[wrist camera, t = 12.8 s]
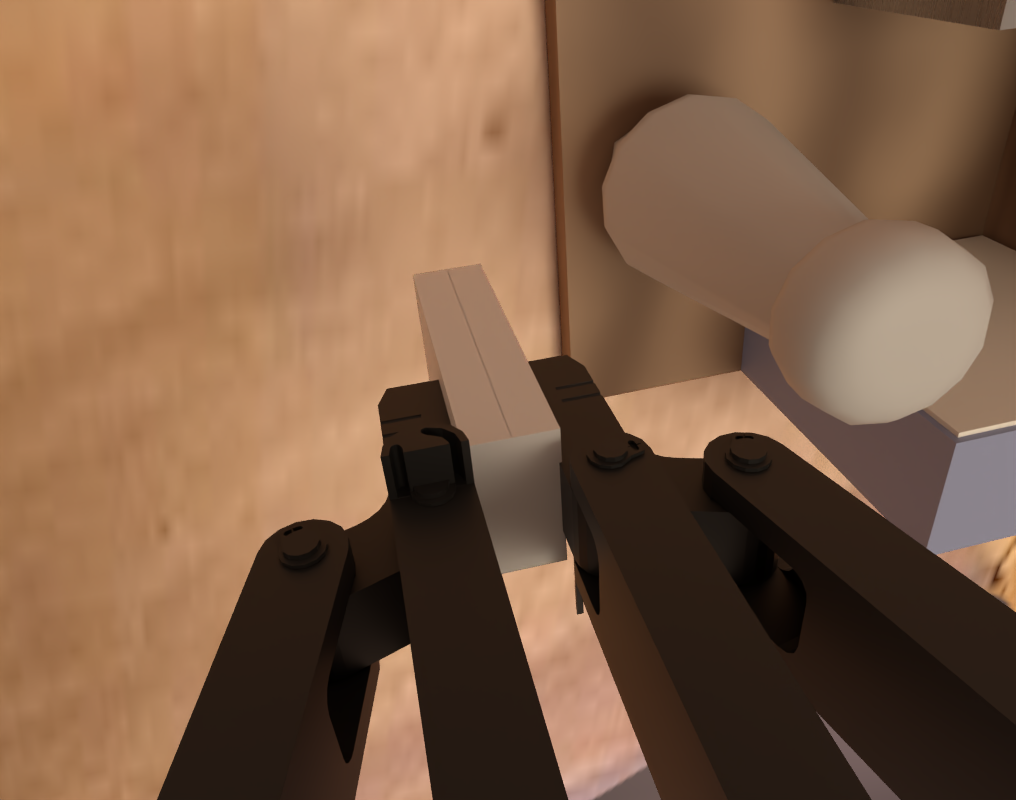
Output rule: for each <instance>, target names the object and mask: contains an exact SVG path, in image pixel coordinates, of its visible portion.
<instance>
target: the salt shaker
mask: <svg viewBox="0 0 1016 800" xmlns="http://www.w3.org/2000/svg"><path fill="white" fill-rule="evenodd" d="M602 196H603V213H604V226H605V228H606V230H607V232H608V234H609V235H610V237H611V239H612V240H613V242H614V244H615V245H616V247H617V248H618V250H619V252H620V253H621V255H622V257H623V258H624V260H625V262H626V263H627V264H628V265H630V266H632V267H633V268H635V269H637V270H639V271H641V272H642V273H644V274H646V275H648V276H650V277H652V278H653V279H655V280H657V281H659V282H661V283H663V284H665V285H666V286H668V287H670V288H672V289H674V290H676V291H678V292H680V293H682V294H684V295H685V296H687V297H689V298H691V299H693V300H695V301H697V302H699V303H701V304H703V305H704V306H706V307H708V308H710V309H712V310H714V311H716V312H718V313H720V314H722V315H723V316H725V317H727V318H729V319H731V320H733V321H735V322H737V323H739V324H741V325H742V326H744V327H746V328H748V329H750V330H752V331H754V332H756V333H758V334H760V335H761V336H763V337H765V338H767V339H769V347H770V350H771V353H772V355H773V357H774V359H775V361H776V363H777V365H778V366H779V368H780V370H781V372H782V374H783V376H784V378H785V380H786V382H787V383H788V384H789V385H790V386H791V387H792V389H793V390H794V391H795V392H796V393H797V394H798V395H799V396H800V397H801V398H802V399H804V400H805V401H807V402H809V403H810V404H812V405H814V406H815V407H817V408H819V409H821V410H822V411H824V412H826V413H828V414H830V415H832V416H834V417H835V418H837V419H839V420H841V421H843V422H845V423H847V424H849V425H863V424H879V423H888V422H892V421H895V420H898V419H901V418H903V417H905V416H908V415H910V414H912V413H915V412H917V411H919V410H922V409H924V408H926V407H929V406H931V405H933V404H934V403H935V402H936V401H937V400H938V399H940V398H941V397H942V396H943V395H944V394H945V393H947V392H948V391H949V390H950V389H951V388H952V387H953V386H955V385H956V384H957V383H958V382H959V381H960V380H962V378H963V377H964V375H965V374H966V372H967V371H968V369H969V368H970V366H971V365H972V363H973V362H974V360H975V359H976V357H977V356H978V354H979V353H980V351H981V350H982V348H983V346H984V341H985V337H986V332H987V328H988V324H989V319H990V315H991V310H992V306H993V301H994V299H993V295H992V291H991V287H990V283H989V279H988V275H987V271H986V267H985V265H984V264H983V263H981V262H980V261H979V260H978V259H977V258H975V257H974V256H973V255H972V254H971V253H970V252H968V251H967V250H966V249H965V248H963V247H962V246H960V245H959V244H958V243H956V242H955V241H953V240H952V239H950V238H949V237H948V236H946V235H945V234H943V233H942V232H941V231H939V230H938V229H935V228H932V227H930V226H927V225H924V224H922V223H919V222H917V221H903V220H877V219H871V220H869V219H868V218H867V217H866V216H865V215H864V214H863V213H862V212H861V211H860V210H859V209H858V208H857V207H856V206H855V205H854V204H853V203H852V202H851V201H850V200H849V199H847V198H846V197H845V196H844V195H843V194H842V193H841V192H840V191H839V190H838V189H837V188H836V187H835V186H834V185H833V184H832V183H831V182H830V181H829V180H828V179H827V178H826V177H825V176H824V175H823V174H822V173H821V172H820V171H819V170H818V169H817V168H816V167H815V166H814V165H813V164H812V163H811V162H810V161H809V160H808V159H807V158H806V157H805V156H804V155H803V154H802V153H801V152H800V151H799V150H798V149H797V148H796V147H795V146H794V145H793V144H792V143H791V142H790V141H789V140H788V139H787V138H786V137H785V136H784V135H783V134H782V133H781V132H780V131H779V130H778V129H777V128H776V127H775V126H774V125H773V124H771V123H770V122H769V121H768V120H767V119H766V118H764V117H763V116H761V115H760V114H759V113H757V112H756V111H754V110H753V109H751V108H750V107H748V106H747V105H745V104H744V103H742V102H741V101H739V100H738V99H737V98H728V97H716V96H705V95H692V94H687V95H685V96H683V97H681V98H679V99H676V100H674V101H672V102H670V103H668V104H665V105H663V106H661V107H659V108H657V109H654V110H652V111H650V112H648V113H647V114H646V115H645V116H644V117H643V118H642V119H641V120H640V121H639V123H638V124H637V125H636V126H635V127H634V128H633V129H632V130H631V131H630V132H628V133H627V134H626V135H624V136H623V137H621V138H620V139H619V140H617V141H616V142H614V149H613V155H612V161H611V164H610V166H609V169H608V172H607V174H606V177H605V180H604V182H603V185H602Z"/></svg>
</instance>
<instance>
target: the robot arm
mask: <svg viewBox="0 0 1016 800" xmlns="http://www.w3.org/2000/svg"><path fill="white" fill-rule="evenodd" d="M413 279H414V285H415V292H416V298H417V304H418V311H419V317H420V323H421V330H422V336H423V342H424V349H425V355H426V362H427V368H428V374H429V381H428V382H423V383H417V384H411V385H406V386H400V387H395V388H389V389H387V390H386V391H385V393H384V395H383V397H382V399H381V401H380V403H379V404H378V409H379V416H380V422H381V430H382V436H383V444H384V445H383V447H382V452H381V461H382V466H383V471H384V476H385V480H386V485H387V490H388V497H387V500H386V502H385V503H384V505H383V506H382V507H381V508H380V510H379V511H378V512H376V513H375V514H374V515H373V516H371V517H370V518H369V519H367V520H365V521H363V522H362V523H360V524H358V525H356V526H354V527H351V528H349V529H347V530H345V531H344V529H343V528H342V527H341V526H339V525H337V524H335V523H333V522H331V521H326V520H316V519H312V520H306V521H301V522H296V523H293V524H291V525H289V526H286V527H284V528H282V529H280V530H278V531H277V532H276V533H274V534H273V535H272V536H271V537H269V538H268V539H267V540H266V541H265V542H264V544H263V545H262V547H261V548H260V550H259V551H258V553H257V555H256V558H255V560H254V563H253V565H252V568H251V570H250V572H249V575H248V577H247V580H246V582H245V585H244V587H243V590H242V592H241V595H240V597H239V600H238V602H237V604H236V607H235V609H234V612H233V614H232V617H231V619H230V622H229V624H228V627H227V629H226V631H225V634H224V636H223V639H222V641H221V644H220V646H219V649H218V651H217V654H216V656H215V659H214V661H213V663H212V666H211V668H210V671H209V673H208V676H207V678H206V681H205V683H204V686H203V688H202V691H201V693H200V695H199V698H198V700H197V703H196V705H195V708H194V710H193V713H192V715H191V718H190V720H189V722H188V725H187V727H186V730H185V732H184V735H183V737H182V740H181V742H180V745H179V747H178V750H177V752H176V754H175V757H174V759H173V762H172V764H171V767H170V769H169V772H168V774H167V777H166V779H165V781H164V784H163V786H162V789H161V791H160V794H159V796H158V799H157V800H355V796H356V790H357V785H358V780H359V775H360V769H361V764H362V759H363V754H364V749H365V743H366V738H367V733H368V728H369V722H370V717H371V712H372V707H373V701H374V696H375V691H376V686H377V680H378V675H379V670H380V665H379V660H380V659H382V658H384V657H386V656H388V655H390V654H392V653H394V652H395V651H397V650H399V649H401V648H403V647H405V646H407V645H409V644H411V651H412V658H413V665H414V672H415V679H416V686H417V693H418V700H419V707H420V714H421V721H422V728H423V735H424V742H425V748H426V755H427V762H428V769H429V776H430V783H431V790H432V797H433V800H568V797H567V794H566V790H565V787H564V784H563V780H562V777H561V773H560V770H559V767H558V763H557V760H556V757H555V753H554V750H553V746H552V743H551V740H550V736H549V733H548V729H547V726H546V723H545V719H544V716H543V713H542V709H541V706H540V702H539V699H538V696H537V692H536V689H535V686H534V682H533V679H532V675H531V672H530V669H529V665H528V662H527V658H526V655H525V652H524V648H523V645H522V642H521V638H520V635H519V631H518V628H517V625H516V621H515V618H514V614H513V611H512V608H511V604H510V601H509V598H508V594H507V591H506V587H505V584H504V581H503V577H502V574H503V573H508V572H513V571H517V570H522V569H526V568H531V567H536V566H540V565H545V564H550V563H554V562H559V561H563V560H567V548H566V539H567V542H568V544H569V546H570V549H571V551H572V554H573V556H574V573H575V595H576V609H577V614H582V613H584V612H583V602H584V605H585V607H586V610H587V612H588V615H589V617H590V620H591V623H592V625H593V628H594V630H595V633H596V635H597V638H598V640H599V643H600V645H601V648H602V650H603V653H604V656H605V658H606V661H607V663H608V666H609V668H610V671H611V673H612V676H613V678H614V681H615V684H616V686H617V689H618V691H619V694H620V696H621V699H622V701H623V704H624V706H625V709H626V711H627V714H628V717H629V719H630V722H631V724H632V727H633V729H634V732H635V734H636V737H637V739H638V742H639V745H640V747H641V750H642V752H643V755H644V757H645V760H646V762H647V765H648V767H649V770H650V772H651V775H652V777H653V780H654V783H655V785H656V788H657V790H658V793H659V795H660V798H661V800H871V798H870V797H869V795H868V793H867V792H866V790H865V789H864V787H863V785H862V784H861V782H860V781H859V779H858V777H857V776H856V774H855V773H854V771H853V769H852V768H851V766H850V765H849V763H848V762H847V760H846V758H845V757H844V755H843V754H842V752H841V750H840V749H839V747H838V746H837V744H836V742H835V741H834V739H833V738H832V736H831V735H830V733H829V732H828V730H827V728H826V727H825V725H824V723H823V722H822V720H821V719H820V717H819V715H820V716H821V717H822V718H823V719H824V720H825V721H826V722H827V723H828V724H829V725H830V726H831V727H832V728H833V730H834V731H835V732H836V733H837V734H838V735H839V736H840V737H841V738H842V739H843V740H844V741H845V742H846V743H847V744H848V745H849V746H850V747H851V748H852V749H853V750H854V751H855V752H856V753H857V755H858V756H859V757H860V758H861V759H862V760H863V761H864V762H865V763H866V764H867V765H868V766H869V767H870V768H871V769H872V770H873V771H874V772H875V773H876V774H877V775H878V776H879V777H880V779H881V780H882V781H883V782H884V783H886V785H887V786H888V787H889V788H890V789H891V790H892V791H893V792H894V793H895V794H896V795H897V796H898V797H899V798H900V799H901V800H1016V612H1014V611H1013V610H1012V609H1010V608H1009V607H1008V606H1006V605H1005V604H1003V603H1002V602H1001V601H999V600H998V599H996V598H995V597H994V596H992V595H991V594H989V593H988V592H987V591H985V590H984V589H983V588H981V587H980V586H978V585H977V584H976V583H974V582H973V581H971V580H970V579H969V578H967V577H966V576H964V575H963V574H962V573H960V572H959V571H958V570H956V569H955V568H953V567H952V566H951V565H949V564H948V563H946V562H945V561H944V560H942V559H941V558H940V557H938V556H937V555H935V554H934V553H933V552H931V551H930V550H928V549H927V548H926V547H924V546H923V545H921V544H920V543H919V542H917V541H916V540H915V539H913V538H912V537H910V536H909V535H908V534H906V533H905V532H903V531H902V530H901V529H899V528H898V527H896V526H895V525H894V524H892V523H891V522H890V521H888V520H887V519H885V518H884V517H883V516H881V515H880V514H878V513H877V512H876V511H874V510H873V509H871V508H870V507H869V506H867V505H866V504H865V503H863V502H862V501H860V500H859V499H858V498H856V497H855V496H853V495H852V494H851V493H849V492H848V491H846V490H845V489H844V488H842V487H841V486H840V485H838V484H837V483H835V482H834V481H833V480H831V479H830V478H828V477H827V476H826V475H824V474H823V473H821V472H820V471H819V470H817V469H816V468H815V467H813V466H812V465H810V464H809V463H808V462H806V461H805V460H803V459H802V458H801V457H799V456H798V455H796V454H795V453H794V452H792V451H791V450H790V449H788V448H787V447H785V446H784V445H783V444H781V443H779V442H777V441H775V440H773V439H771V438H769V437H767V436H763V435H759V434H755V433H738V432H735V433H730V434H726V435H722V436H719V437H717V438H716V439H714V440H712V441H711V442H709V444H708V446H707V447H706V449H705V451H704V459H702V458H671V457H663V456H659V455H655V454H654V453H653V451H652V450H651V448H650V447H649V446H648V445H647V444H646V443H645V442H644V441H643V440H642V439H640V438H638V437H635V436H633V435H631V434H628V433H625V432H624V431H623V429H622V427H621V426H620V424H619V422H618V421H617V419H616V417H615V416H614V414H613V412H612V411H611V409H610V407H609V406H608V404H607V402H606V401H605V399H604V397H603V396H602V395H601V394H600V391H599V389H598V388H597V386H596V384H595V383H594V382H593V379H592V378H591V376H590V374H589V373H588V371H587V369H586V368H585V366H584V365H582V364H581V363H579V362H577V361H576V360H574V359H572V358H571V357H569V356H568V355H562V356H557V357H551V358H546V359H540V360H535V361H529V362H528V361H527V359H526V357H525V355H524V353H523V351H522V349H521V347H520V345H519V342H518V340H517V338H516V336H515V334H514V332H513V330H512V328H511V326H510V324H509V322H508V320H507V318H506V316H505V314H504V312H503V309H502V307H501V305H500V303H499V301H498V299H497V297H496V295H495V293H494V291H493V289H492V287H491V285H490V283H489V281H488V278H487V276H486V274H485V272H484V270H483V268H482V266H481V264H476V265H470V266H464V267H458V268H451V269H445V270H439V271H433V272H427V273H420V274H414V275H413ZM817 713H818V714H819V715H818V714H817Z"/></svg>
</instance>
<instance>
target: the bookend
mask: <svg viewBox="0 0 1016 800" xmlns="http://www.w3.org/2000/svg"><path fill="white" fill-rule="evenodd" d="M833 3H838V4H844V5H850V6H856V7H862V8H868V9H874V10H880V11H886V12H892V13H898V14H904V15H910V16H916V17H922V18H928V19H935V20H941V21H947V22H953V23H959V24H965V25H971V26H977V27H983V28H989V29H995V30H1006V29H1013V28H1016V0H834V2H833Z"/></svg>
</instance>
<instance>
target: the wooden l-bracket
mask: <svg viewBox="0 0 1016 800" xmlns="http://www.w3.org/2000/svg"><path fill="white" fill-rule="evenodd" d="M833 2H834V0H545V13H546V33H547V53H548V74H549V94H550V115H551V135H552V155H553V176H554V196H555V217H556V237H557V257H558V278H559V298H560V319H561V339H562V355H568V356H569V357H571V358H572V359H574V360H576V361H577V362H579V363H581V364H582V365H584V366H585V368H586V369H587V371H588V373H589V374H590V376H591V378H592V379H593V382H594V383H595V384H596V386H597V388H598V389H599V391H600V394H601V395H602V396H603V397H608V396H613V395H618V394H623V393H628V392H633V391H638V390H643V389H648V388H653V387H659V386H664V385H669V384H674V383H679V382H684V381H689V380H694V379H699V378H704V377H709V376H714V375H719V374H724V373H730V372H735V371H740V370H741V364H742V353H743V343H744V332H745V327H744V326H742V325H741V324H739V323H737V322H735V321H733V320H731V319H729V318H727V317H725V316H723V315H722V314H720V313H718V312H716V311H714V310H712V309H710V308H708V307H706V306H704V305H703V304H701V303H699V302H697V301H695V300H693V299H691V298H689V297H687V296H685V295H684V294H682V293H680V292H678V291H676V290H674V289H672V288H670V287H668V286H666V285H665V284H663V283H661V282H659V281H657V280H655V279H653V278H652V277H650V276H648V275H646V274H644V273H642V272H641V271H639V270H637V269H635V268H633V267H632V266H630V265H628V264H627V263H626V262H625V260H624V258H623V257H622V255H621V253H620V252H619V250H618V248H617V247H616V245H615V244H614V242H613V240H612V239H611V237H610V235H609V234H608V232H607V230H606V228H605V226H604V213H603V196H602V185H603V182H604V180H605V177H606V174H607V172H608V169H609V166H610V164H611V161H612V155H613V149H614V142H616V141H617V140H619V139H620V138H621V137H623V136H624V135H626V134H627V133H628V132H630V131H631V130H632V129H633V128H634V127H635V126H636V125H637V124H638V123H639V121H640V120H641V119H642V118H643V117H644V116H645V115H646V114H647V113H648V112H650V111H652V110H654V109H657V108H659V107H661V106H663V105H665V104H668V103H670V102H672V101H674V100H676V99H679V98H681V97H683V96H685V95H687V94H692V95H705V96H716V97H728V98H737V99H738V100H739V101H741V102H742V103H744V104H745V105H747V106H748V107H750V108H751V109H753V110H754V111H756V112H757V113H759V114H760V115H761V116H763V117H764V118H766V119H767V120H768V121H769V122H770V123H771V124H773V125H774V126H775V127H776V128H777V129H778V130H779V131H780V132H781V133H782V134H783V135H784V136H785V137H786V138H787V139H788V140H789V141H790V142H791V143H792V144H793V145H794V146H795V147H796V148H797V149H798V150H799V151H800V152H801V153H802V154H803V155H804V156H805V157H806V158H807V159H808V160H809V161H810V162H811V163H812V164H813V165H814V166H815V167H816V168H817V169H818V170H819V171H820V172H821V173H822V174H823V175H824V176H825V177H826V178H827V179H828V180H829V181H830V182H831V183H832V184H833V185H834V186H835V187H836V188H837V189H838V190H839V191H840V192H841V193H842V194H843V195H844V196H845V197H846V198H847V199H849V200H850V201H851V202H852V203H853V204H854V205H855V206H856V207H857V208H858V209H859V210H860V211H861V212H862V213H863V214H864V215H865V216H866V217H867V218H868V219H869V220H871V219H877V220H903V221H917V222H919V223H922V224H924V225H927V226H930V227H932V228H935V229H938V230H939V231H941V232H942V233H943V234H945V235H946V236H948V237H949V238H950V239H952V240H958V239H964V238H970V237H975V236H981V235H983V236H985V237H987V238H989V239H991V240H993V241H996V242H998V243H1000V244H1002V245H1004V246H1006V247H1008V248H1011V249H1013V250H1015V251H1016V28H1013V29H1006V30H995V29H989V28H983V27H977V26H971V25H965V24H959V23H953V22H947V21H941V20H935V19H928V18H922V17H916V16H910V15H904V14H898V13H892V12H886V11H880V10H874V9H868V8H862V7H856V6H850V5H844V4H838V3H833Z"/></svg>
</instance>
